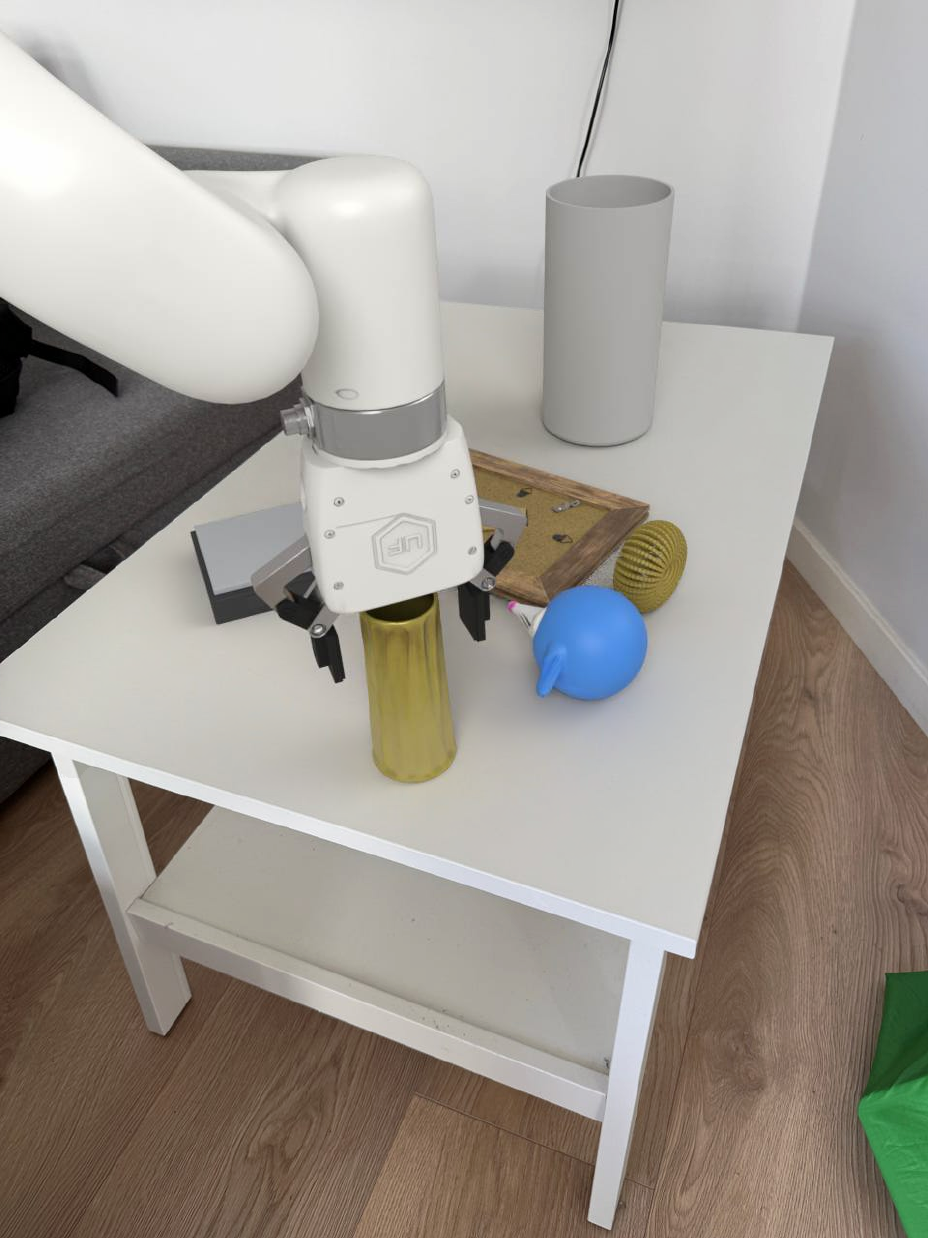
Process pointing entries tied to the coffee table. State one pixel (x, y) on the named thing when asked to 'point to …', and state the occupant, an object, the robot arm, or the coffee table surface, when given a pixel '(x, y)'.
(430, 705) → the vase
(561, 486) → the picture frame
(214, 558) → the scale
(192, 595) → the coffee table surface
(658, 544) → the sculpture
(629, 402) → the cylinder vase
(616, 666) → the blue mole toy
